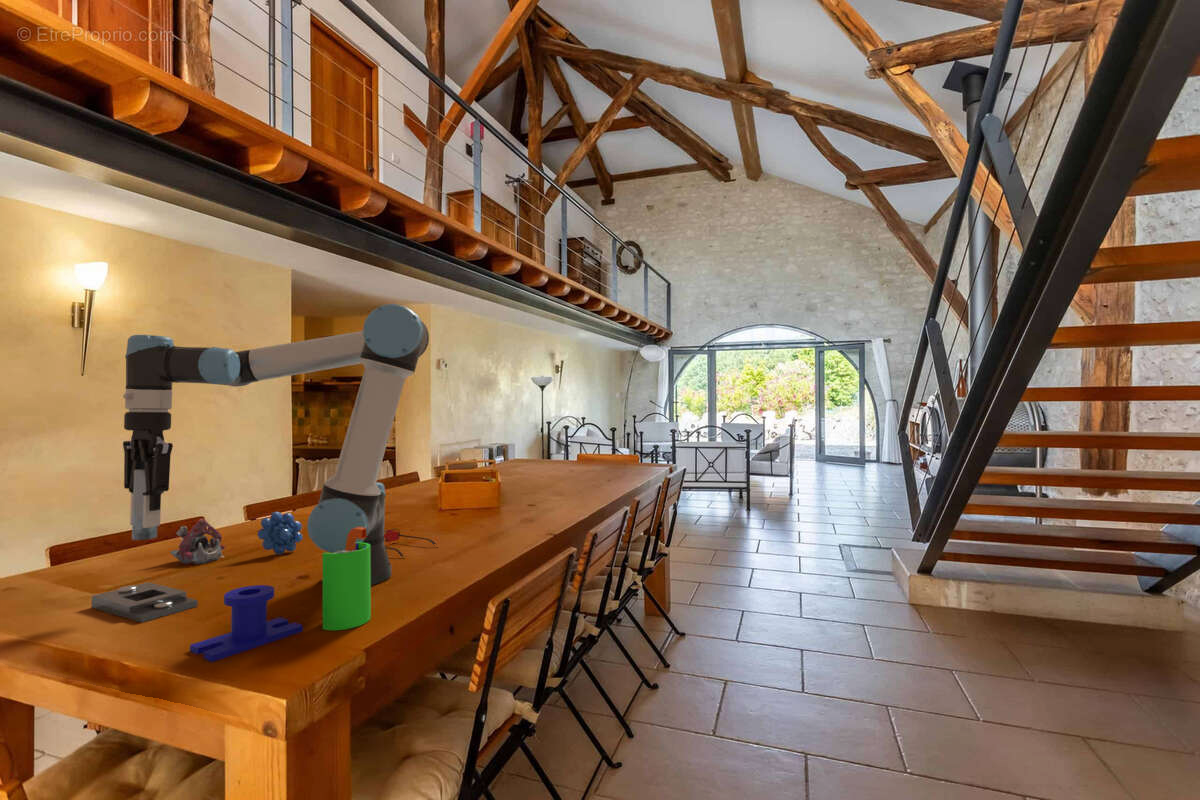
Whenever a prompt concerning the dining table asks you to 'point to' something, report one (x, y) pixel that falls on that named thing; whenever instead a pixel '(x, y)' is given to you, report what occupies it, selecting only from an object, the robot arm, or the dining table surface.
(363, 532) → the green half cylinder
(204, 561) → the red grey peaked figurine
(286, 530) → the grapes
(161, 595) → the slotted grey clamp plate
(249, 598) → the mount
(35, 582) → the dining table surface
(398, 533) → the glasses
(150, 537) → the pin
